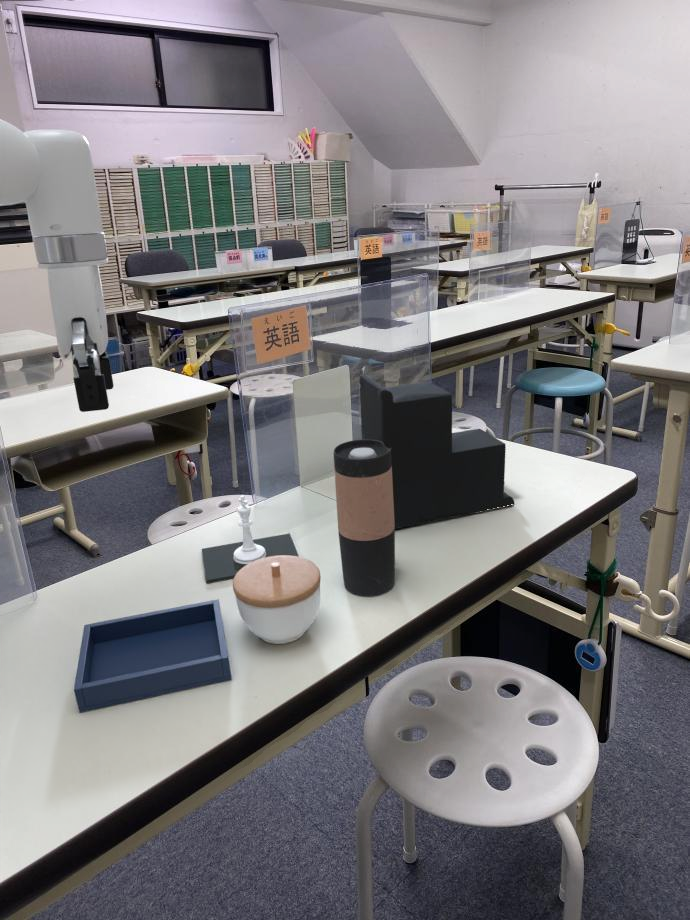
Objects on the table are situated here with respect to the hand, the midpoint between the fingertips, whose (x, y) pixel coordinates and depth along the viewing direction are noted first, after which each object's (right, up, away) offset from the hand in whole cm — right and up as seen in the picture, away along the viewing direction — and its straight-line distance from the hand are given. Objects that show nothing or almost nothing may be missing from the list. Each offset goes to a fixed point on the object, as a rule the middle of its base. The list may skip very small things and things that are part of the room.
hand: (97, 399), depth 83 cm
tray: (+7, -32, -1) cm, 32 cm away
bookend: (+46, -16, +34) cm, 59 cm away
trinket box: (+22, -29, +4) cm, 37 cm away
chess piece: (+16, -22, +21) cm, 34 cm away
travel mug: (+33, -25, +13) cm, 43 cm away
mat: (+16, -22, +21) cm, 35 cm away
